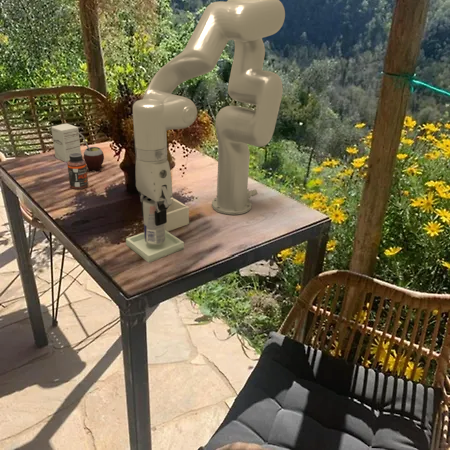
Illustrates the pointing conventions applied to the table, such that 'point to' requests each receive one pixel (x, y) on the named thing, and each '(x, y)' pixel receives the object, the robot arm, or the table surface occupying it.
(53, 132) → the supplement box
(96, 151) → the mate gourd
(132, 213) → the table surface
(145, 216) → the energy drink
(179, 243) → the tray
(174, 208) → the can holder
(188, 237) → the table surface
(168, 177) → the robot arm
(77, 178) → the supplement bottle
